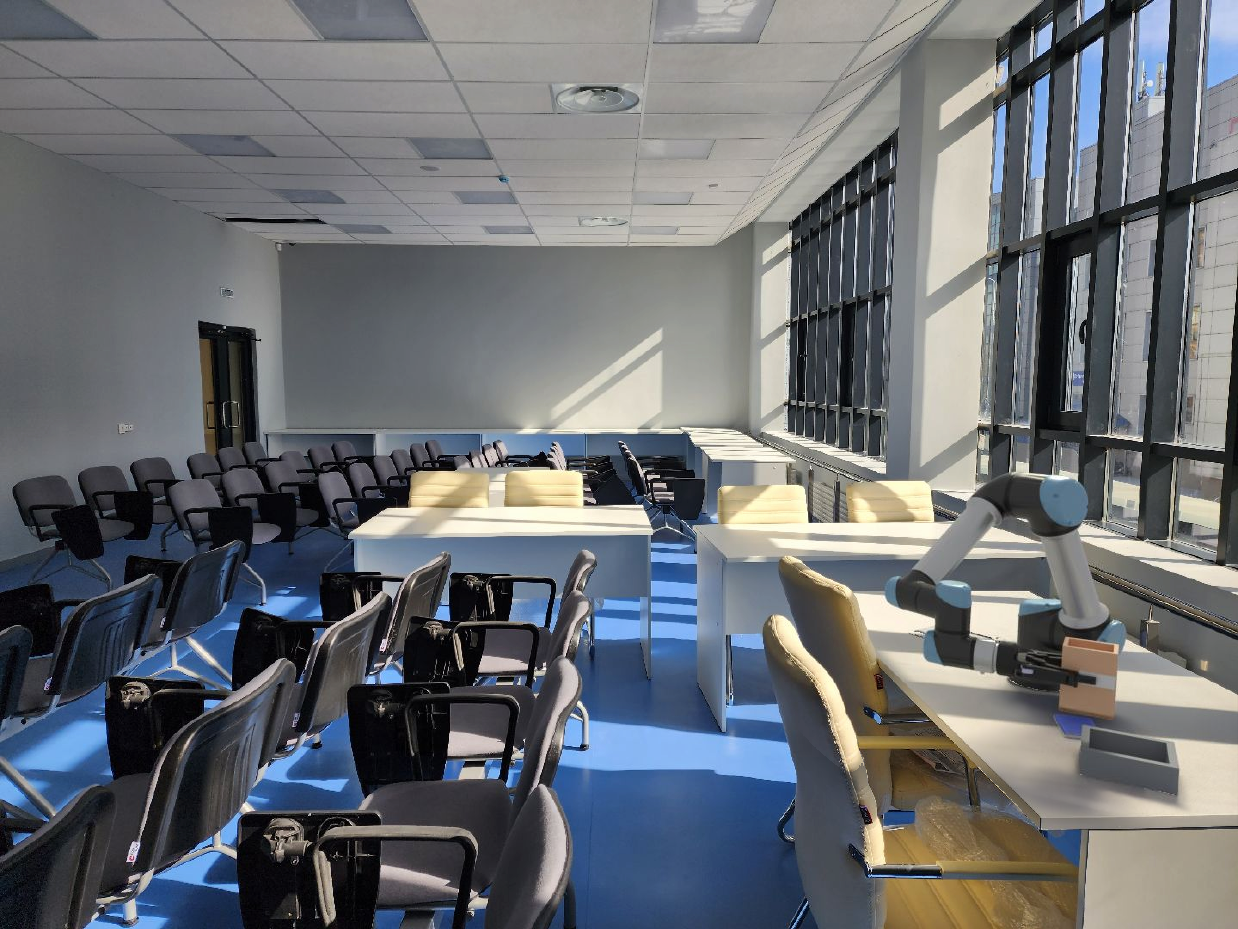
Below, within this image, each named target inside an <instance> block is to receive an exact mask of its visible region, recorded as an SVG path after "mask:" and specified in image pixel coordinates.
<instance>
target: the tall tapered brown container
mask: <svg viewBox="0 0 1238 929" xmlns="http://www.w3.org/2000/svg"><path fill="white" fill-rule="evenodd" d="M1118 651H1119V645H1118V644H1111V643H1105V642H1098V641H1091V640H1084V639H1078V638H1071V637H1065V640H1064V643H1063V648H1062V665H1061V668H1065V669H1070V670H1073V671H1077V672H1079V670H1081V671H1087V672H1093V673H1099V674H1105V675H1111V676H1116V679H1115V690H1111V689H1105V688H1100V687H1094V686H1088V685H1082V684H1078V687H1077V688H1074V687H1073V686H1069V685H1064V684H1060V691H1059V699H1058V700H1059V701H1058V703H1059V704H1058V711H1059V712H1066V713H1069V714H1070V713H1071V714H1077V715H1081V716H1086V717H1091V718H1098V719H1103V720H1108V721H1113V722H1114V720H1115V710H1116V694H1117V682H1118V680H1117V679H1118V678H1117V677H1118V663H1119V656H1118ZM1078 674H1079V673H1078Z"/></svg>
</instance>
